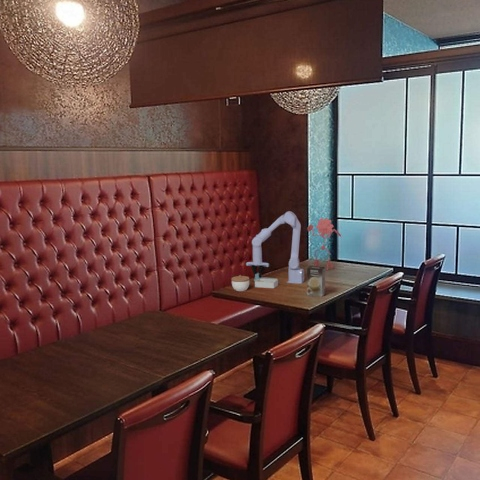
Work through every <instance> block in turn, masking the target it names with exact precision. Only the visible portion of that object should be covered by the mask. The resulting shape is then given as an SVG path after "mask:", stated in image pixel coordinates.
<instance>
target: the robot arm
mask: <svg viewBox="0 0 480 480" xmlns="http://www.w3.org/2000/svg"><path fill="white" fill-rule="evenodd" d="M284 224H288V225H290V227H291V228H292V238H291V239H292V240H291V249H290V250H291V251H290V259H289V261H288V281H286V283H288V284H298V285H299V284H302V283H304V282H305V269H304V268H301V267H300V258H299V253H300V252H299V251H300V239H301V228H302V225H301V222H300V220H299V219H298V217H297V215H296V214H295V212H293V211H286V212H285V213H284V214H282V215H280V216H279V217H277V219H276V220H275V221H274V222H272V224H271V225H270V226H269V227H268V228H267V227H265V228H261V230H260V231H259V233H258V234H256V235H255V236H254V237H253V238H252V240H251V245H252V261H248V262H246V263H245V265H246V266H249V267H250V266H251V267H250V269H251V271H252V272H253V275H254V277H255V274H257V273H259V278H261V277H263V276H262V275H263V272H264V269H265V267H266V268H268V267H270V263H268V262H263V250H262V249H263V248H262V243H264V242H265V241H267V239H268V238H270V237H271V236H272V232H273V231H274V230H275V229H277V228H278V227H279V226H281V225H284Z"/></svg>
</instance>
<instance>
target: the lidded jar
mask: <svg viewBox="0 0 480 480" xmlns="http://www.w3.org/2000/svg"><path fill="white" fill-rule="evenodd" d="M230 280H231V286H232V289H233V290H234V291H235V292H246V290H248V289H249V286H250V277H249V276H246V275H241V274H239V275H238V276H237V275H236V276H233V277H231V279H230Z"/></svg>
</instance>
